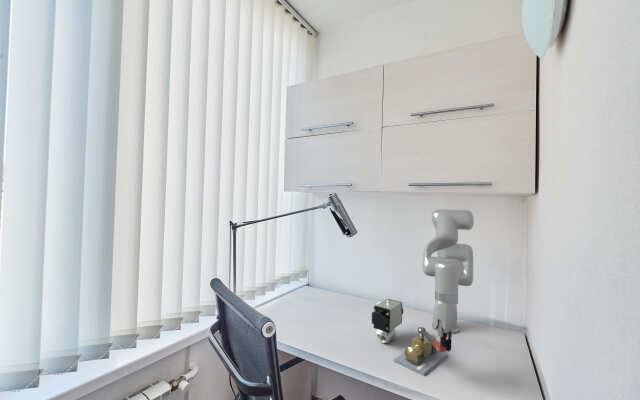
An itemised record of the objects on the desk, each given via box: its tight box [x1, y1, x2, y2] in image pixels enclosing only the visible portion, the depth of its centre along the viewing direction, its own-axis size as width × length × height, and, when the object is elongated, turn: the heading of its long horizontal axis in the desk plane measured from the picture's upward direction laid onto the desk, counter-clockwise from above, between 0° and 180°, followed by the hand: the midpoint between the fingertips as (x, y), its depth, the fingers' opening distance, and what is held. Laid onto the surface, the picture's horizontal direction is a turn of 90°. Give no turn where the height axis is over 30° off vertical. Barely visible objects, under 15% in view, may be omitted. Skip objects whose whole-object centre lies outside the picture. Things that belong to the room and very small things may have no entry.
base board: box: [393, 349, 448, 377], centre depth 108 cm, size 20×12×1 cm, turn 133°
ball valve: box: [371, 298, 404, 344], centre depth 123 cm, size 18×8×18 cm, turn 141°
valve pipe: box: [403, 332, 437, 366], centre depth 108 cm, size 17×5×9 cm, turn 133°
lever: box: [417, 326, 447, 353], centre depth 102 cm, size 16×3×1 cm, turn 6°
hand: (445, 349), depth 97 cm, fingers closed
